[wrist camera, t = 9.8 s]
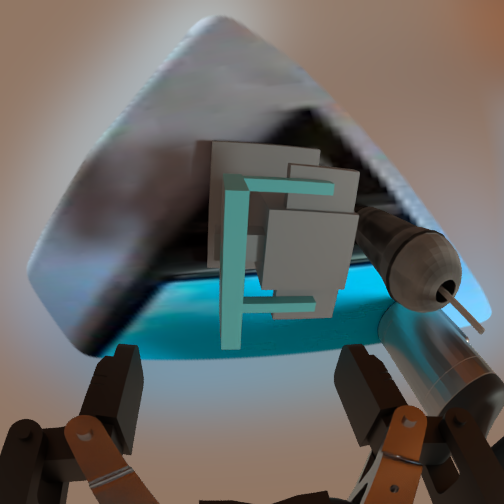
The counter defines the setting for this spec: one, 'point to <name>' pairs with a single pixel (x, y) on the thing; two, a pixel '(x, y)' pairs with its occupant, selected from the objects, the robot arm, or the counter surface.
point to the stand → (289, 222)
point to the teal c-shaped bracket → (235, 252)
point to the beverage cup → (412, 262)
